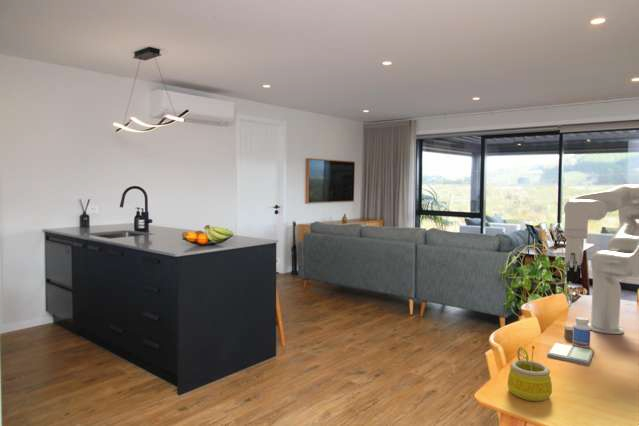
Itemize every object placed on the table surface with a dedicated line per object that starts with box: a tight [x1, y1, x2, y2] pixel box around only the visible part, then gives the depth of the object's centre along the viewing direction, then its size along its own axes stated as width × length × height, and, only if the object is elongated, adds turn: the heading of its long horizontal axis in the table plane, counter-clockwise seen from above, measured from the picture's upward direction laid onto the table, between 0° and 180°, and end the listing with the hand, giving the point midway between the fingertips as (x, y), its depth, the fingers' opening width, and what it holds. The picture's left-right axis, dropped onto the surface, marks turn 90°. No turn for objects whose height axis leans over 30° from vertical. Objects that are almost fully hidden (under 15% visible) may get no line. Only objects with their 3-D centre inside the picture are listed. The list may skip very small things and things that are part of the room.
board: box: [546, 342, 595, 366], centre depth 155 cm, size 14×12×1 cm
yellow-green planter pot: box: [507, 345, 553, 402], centre depth 125 cm, size 13×11×12 cm
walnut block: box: [563, 325, 573, 341], centre depth 171 cm, size 4×4×4 cm
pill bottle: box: [572, 316, 591, 349], centre depth 164 cm, size 6×5×10 cm
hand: (573, 279), depth 170 cm, fingers open, 9 cm apart
